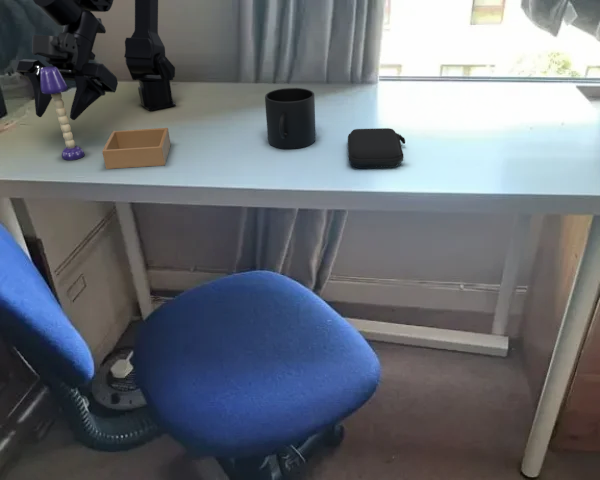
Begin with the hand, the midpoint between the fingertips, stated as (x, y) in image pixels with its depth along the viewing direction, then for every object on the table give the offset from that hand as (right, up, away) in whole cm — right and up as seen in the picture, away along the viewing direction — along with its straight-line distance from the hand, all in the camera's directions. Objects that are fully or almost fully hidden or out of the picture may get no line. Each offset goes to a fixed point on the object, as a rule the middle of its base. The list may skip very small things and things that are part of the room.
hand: (55, 117), depth 115 cm
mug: (+43, -3, +7) cm, 44 cm away
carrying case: (+60, -7, 0) cm, 60 cm away
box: (+15, -6, +4) cm, 16 cm away
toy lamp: (+1, -6, +6) cm, 9 cm away
